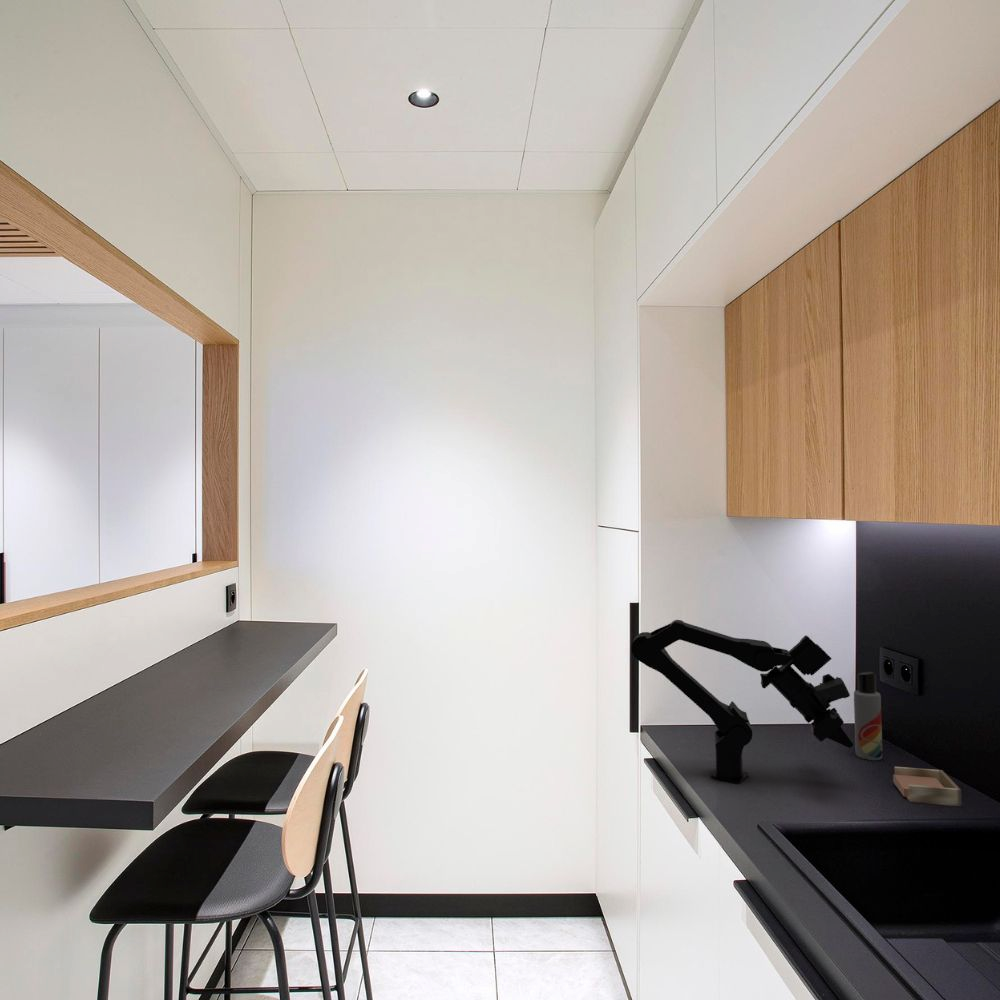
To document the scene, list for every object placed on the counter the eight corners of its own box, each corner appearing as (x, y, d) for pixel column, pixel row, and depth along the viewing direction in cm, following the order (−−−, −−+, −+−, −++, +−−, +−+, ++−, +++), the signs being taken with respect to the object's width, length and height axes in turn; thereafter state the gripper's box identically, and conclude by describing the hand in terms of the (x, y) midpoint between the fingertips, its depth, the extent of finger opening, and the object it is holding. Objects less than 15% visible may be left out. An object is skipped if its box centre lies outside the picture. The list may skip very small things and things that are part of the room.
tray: (910, 802, 138) (909, 785, 138) (894, 781, 149) (894, 766, 149) (961, 806, 136) (961, 790, 136) (942, 785, 147) (941, 770, 147)
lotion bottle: (882, 762, 161) (879, 675, 161) (854, 758, 164) (852, 673, 164) (883, 755, 166) (880, 670, 166) (856, 751, 169) (854, 668, 169)
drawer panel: (903, 788, 140) (948, 792, 138) (893, 774, 148) (935, 777, 146) (903, 796, 140) (948, 800, 138) (893, 782, 148) (936, 785, 146)
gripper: (831, 675, 139) (893, 735, 136) (817, 656, 157) (871, 709, 154) (789, 710, 142) (848, 771, 138) (780, 688, 159) (832, 741, 156)
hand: (851, 746), depth 147 cm, fingers closed
